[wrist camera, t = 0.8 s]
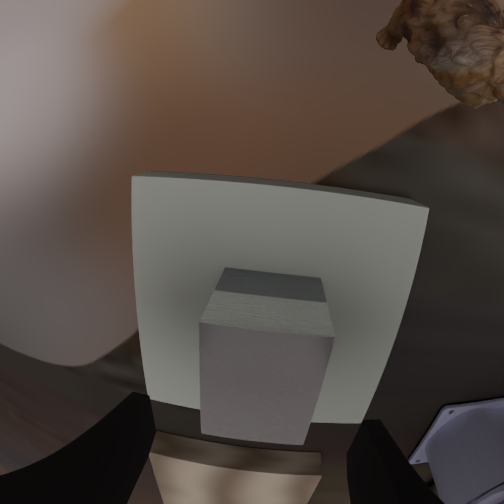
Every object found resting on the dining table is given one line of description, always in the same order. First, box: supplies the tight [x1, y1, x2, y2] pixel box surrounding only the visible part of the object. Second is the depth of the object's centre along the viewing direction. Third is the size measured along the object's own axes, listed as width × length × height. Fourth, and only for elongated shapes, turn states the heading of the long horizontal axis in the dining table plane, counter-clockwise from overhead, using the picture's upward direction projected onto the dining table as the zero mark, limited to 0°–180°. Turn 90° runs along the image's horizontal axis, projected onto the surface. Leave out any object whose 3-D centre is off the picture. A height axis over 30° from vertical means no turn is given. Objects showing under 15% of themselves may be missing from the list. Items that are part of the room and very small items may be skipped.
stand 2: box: [149, 431, 322, 504], centre depth 24 cm, size 14×14×2 cm
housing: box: [199, 267, 335, 445], centre depth 14 cm, size 4×6×5 cm
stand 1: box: [132, 171, 429, 423], centre depth 17 cm, size 14×14×2 cm
